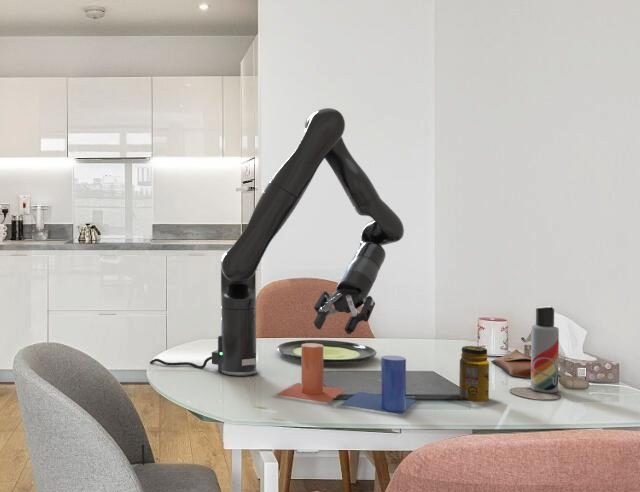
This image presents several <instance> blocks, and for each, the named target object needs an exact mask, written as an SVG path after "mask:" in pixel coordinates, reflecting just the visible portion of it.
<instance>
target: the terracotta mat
mask: <svg viewBox="0 0 640 492" xmlns="http://www.w3.org/2000/svg"><path fill="white" fill-rule="evenodd" d="M345 391H346V389H345V388H343V389H342V388H336V387H328V386H323V394H320V395H309V394H305V393H302V392H301V382H296V383H295V384H293V385H291V386H290V387H288V388H286V389H284V390H282V391H281V392H279V393H277V394H276V396H281V397H288V398H294V399H301V400H308V401H315V402H320V403H325V404H327V403H329V402H330V401H332V400H334V399H335V398H336V397H338V396H339V395H341V394H343V393H344V392H345Z"/></svg>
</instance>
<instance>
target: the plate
mask: <svg viewBox="0 0 640 492" xmlns="http://www.w3.org/2000/svg"><path fill="white" fill-rule="evenodd" d="M305 343H316V344H321V345H323V363H353V362H361V361H366V360H368V359H370V358H373V357H375V356H376V355H377V353H378V352H377V350H376V349H374V348H372V347H370V346H368V345H365V344H361V343H360V344H359V343H355V342H349V341H341V340H329V339H301V340H293V341H286V342H283V343H281V344H279V345H278V346H277V347H276V349H277V350H278V351H279V353H281V354H283V355H285V356H288V357H291V358H295V359H299V360H301V351H302V344H305Z"/></svg>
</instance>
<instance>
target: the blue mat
mask: <svg viewBox="0 0 640 492" xmlns="http://www.w3.org/2000/svg"><path fill="white" fill-rule="evenodd" d="M415 402H417V399H412V398H406V410H405V411H404V412H389V411H385V410H383V409H382V408H381V394H378V393H371V392H364V391H358V392H356V393H354V394H353V395H352V396H351V397H349V398H348V399H347V400H345V401H343V403H341V404H340V405H341V406H346V407H351V408H358V409H365V410H371V411H377V412H383V413H391V414H397V415H403V414H405V412H406V411H407V410H408V409H409V408H410V407H411V406H412V405H414V403H415Z"/></svg>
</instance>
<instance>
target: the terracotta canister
mask: <svg viewBox="0 0 640 492" xmlns="http://www.w3.org/2000/svg"><path fill="white" fill-rule="evenodd" d="M300 360H301V363H300V365H301V369H300V370H301V371H300V372H301V374H300V375H301V376H300V377H301V380H300V381H301V382H300V383H301V392H302V393H305V394H309V395H320V394H323V387H324V362H323V345H321V344H316V343H305V344H302V351H301V359H300Z"/></svg>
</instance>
